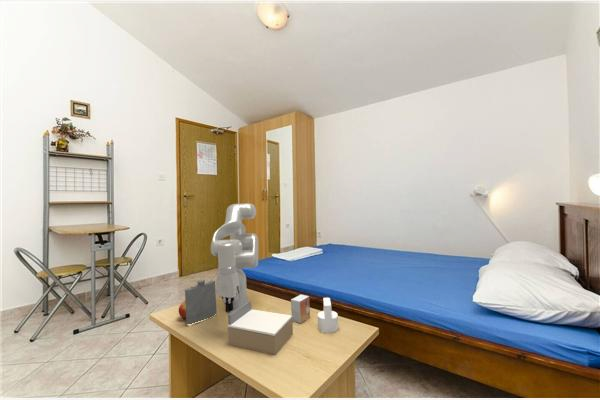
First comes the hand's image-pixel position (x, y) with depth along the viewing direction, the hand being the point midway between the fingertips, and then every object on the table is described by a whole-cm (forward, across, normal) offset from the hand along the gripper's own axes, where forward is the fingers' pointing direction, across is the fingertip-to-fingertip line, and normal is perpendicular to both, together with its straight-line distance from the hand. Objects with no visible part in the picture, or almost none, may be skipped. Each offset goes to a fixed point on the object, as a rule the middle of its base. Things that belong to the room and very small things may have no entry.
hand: (229, 310), depth 118 cm
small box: (+10, +25, +22) cm, 35 cm away
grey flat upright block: (+10, -22, +6) cm, 25 cm away
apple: (+10, -31, +5) cm, 33 cm away
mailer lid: (+3, +16, 0) cm, 16 cm away
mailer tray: (+10, +16, 0) cm, 19 cm away
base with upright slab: (+10, +40, +18) cm, 45 cm away
